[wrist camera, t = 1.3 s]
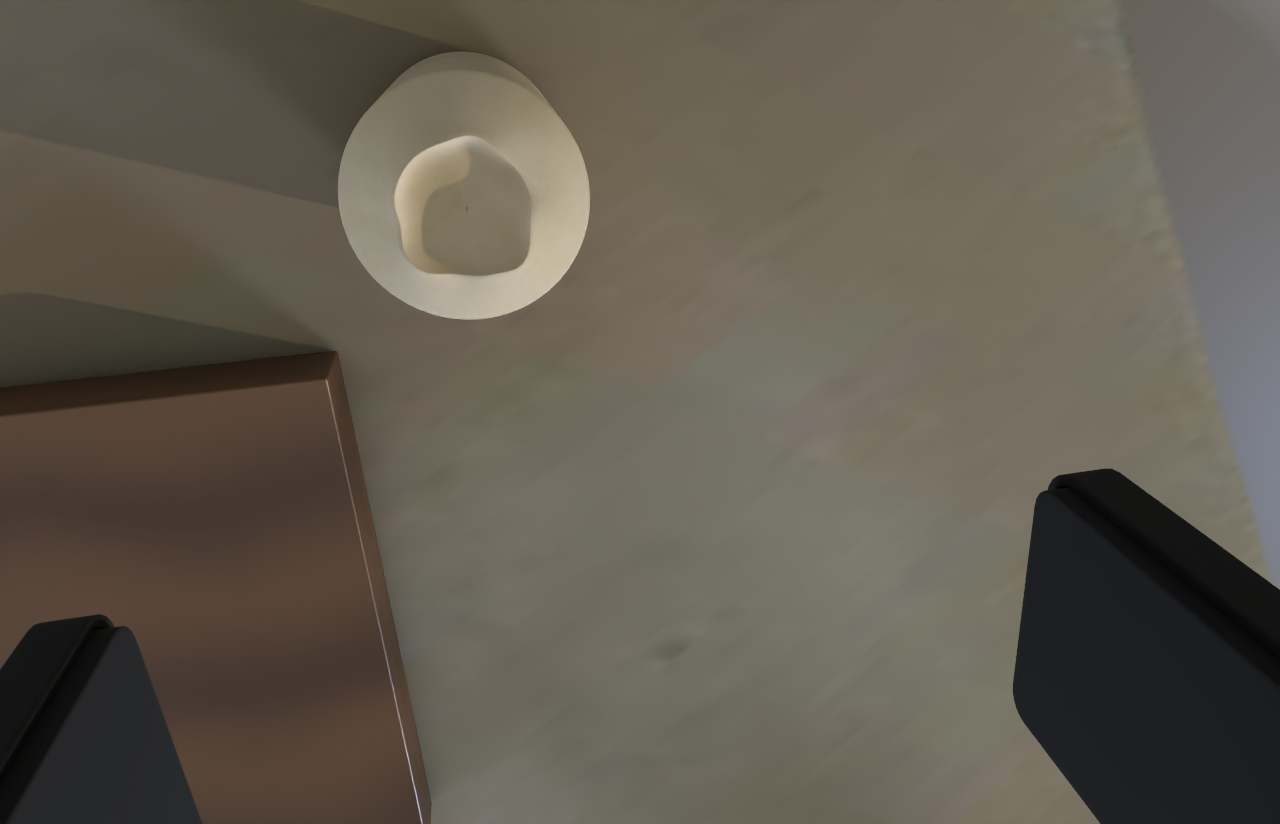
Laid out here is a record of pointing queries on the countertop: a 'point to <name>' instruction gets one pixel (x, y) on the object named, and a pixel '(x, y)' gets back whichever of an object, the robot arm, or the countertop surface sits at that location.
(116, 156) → the countertop surface
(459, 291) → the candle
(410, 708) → the serving board
